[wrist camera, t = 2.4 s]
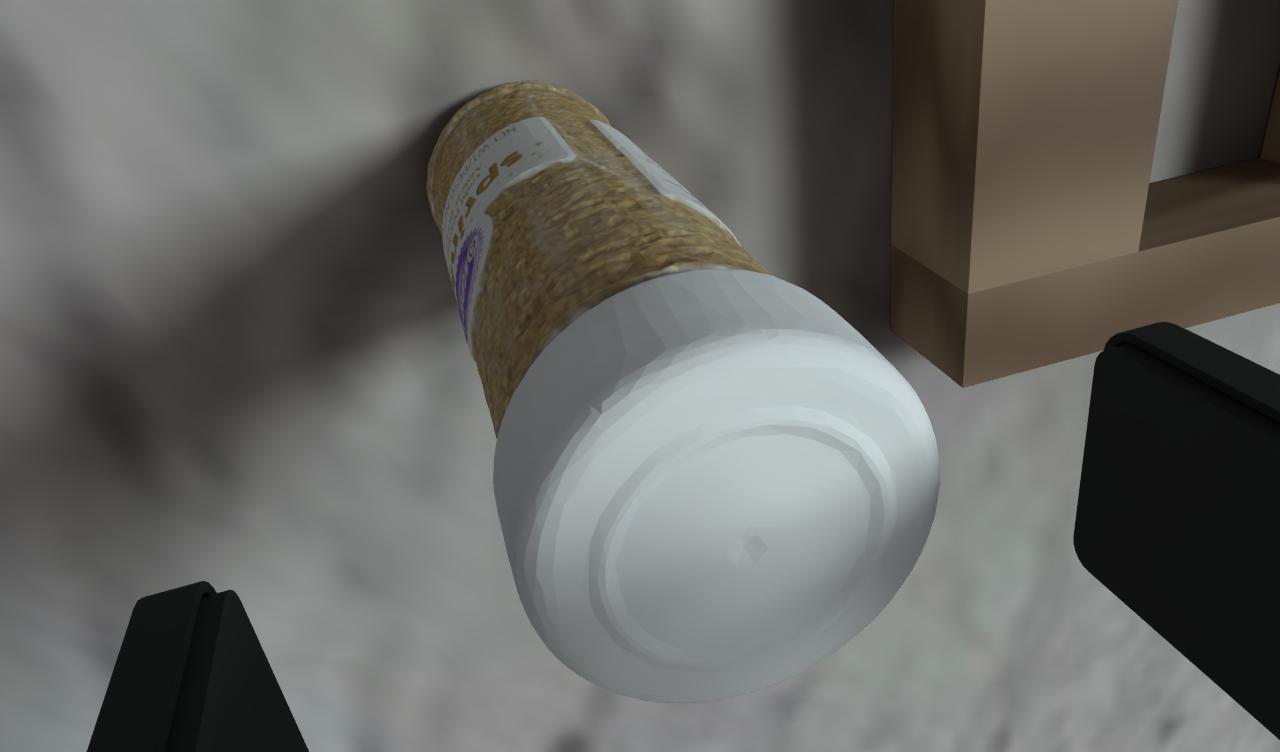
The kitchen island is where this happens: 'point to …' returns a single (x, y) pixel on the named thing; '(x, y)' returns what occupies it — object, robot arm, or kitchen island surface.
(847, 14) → the kitchen island surface
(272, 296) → the kitchen island surface
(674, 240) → the sprinkles bottle
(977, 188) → the walnut holder
